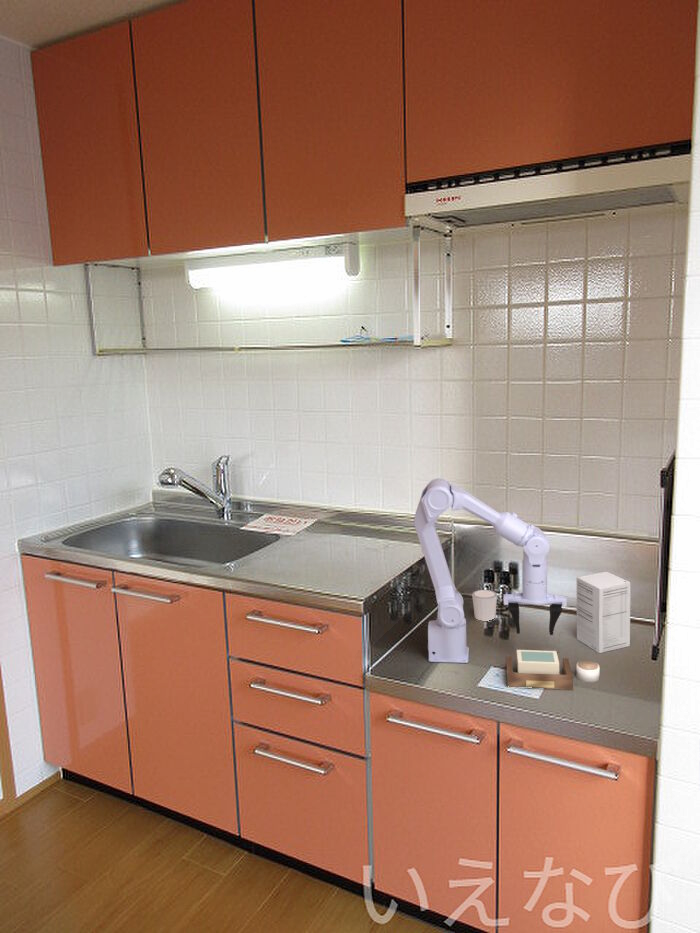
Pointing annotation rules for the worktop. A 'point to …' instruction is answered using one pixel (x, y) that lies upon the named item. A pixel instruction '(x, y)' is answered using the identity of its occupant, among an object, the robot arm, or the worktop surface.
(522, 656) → the carton
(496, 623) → the worktop surface
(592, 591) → the supplement box
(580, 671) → the salt pot
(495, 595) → the beige tapered cup
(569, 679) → the display stand
